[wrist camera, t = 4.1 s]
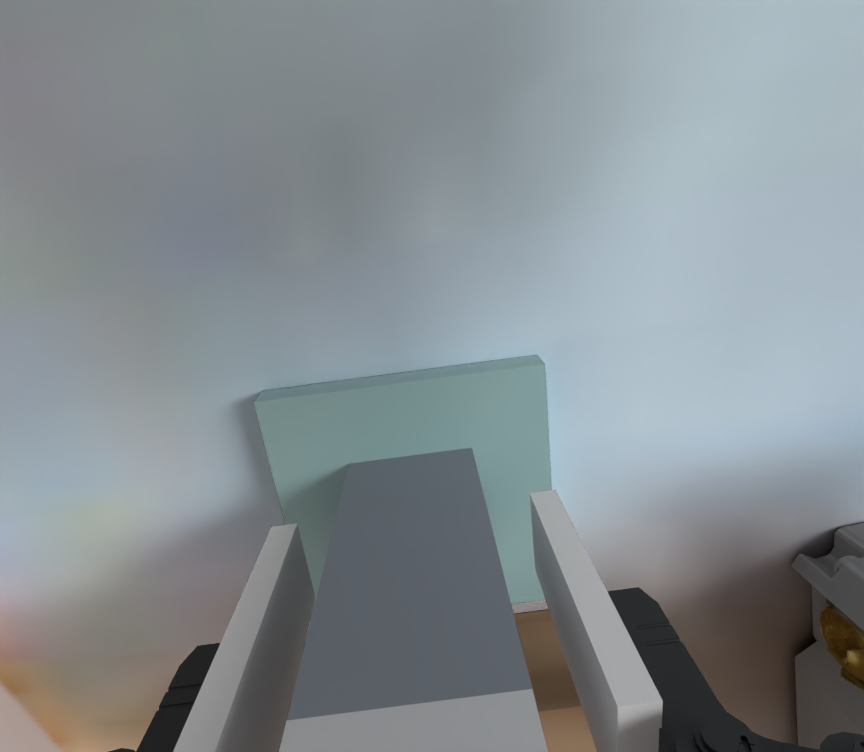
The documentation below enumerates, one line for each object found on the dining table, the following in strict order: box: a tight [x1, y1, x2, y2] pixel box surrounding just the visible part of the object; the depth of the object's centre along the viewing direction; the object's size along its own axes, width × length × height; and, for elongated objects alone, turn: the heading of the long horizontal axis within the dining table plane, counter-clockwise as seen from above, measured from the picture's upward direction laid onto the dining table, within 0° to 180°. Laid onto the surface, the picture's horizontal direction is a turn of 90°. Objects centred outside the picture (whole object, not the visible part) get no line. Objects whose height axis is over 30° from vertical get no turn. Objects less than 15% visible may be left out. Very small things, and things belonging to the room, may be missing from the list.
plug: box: [279, 448, 548, 752], centre depth 12 cm, size 4×4×10 cm
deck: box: [253, 355, 552, 621], centre depth 17 cm, size 9×9×1 cm
